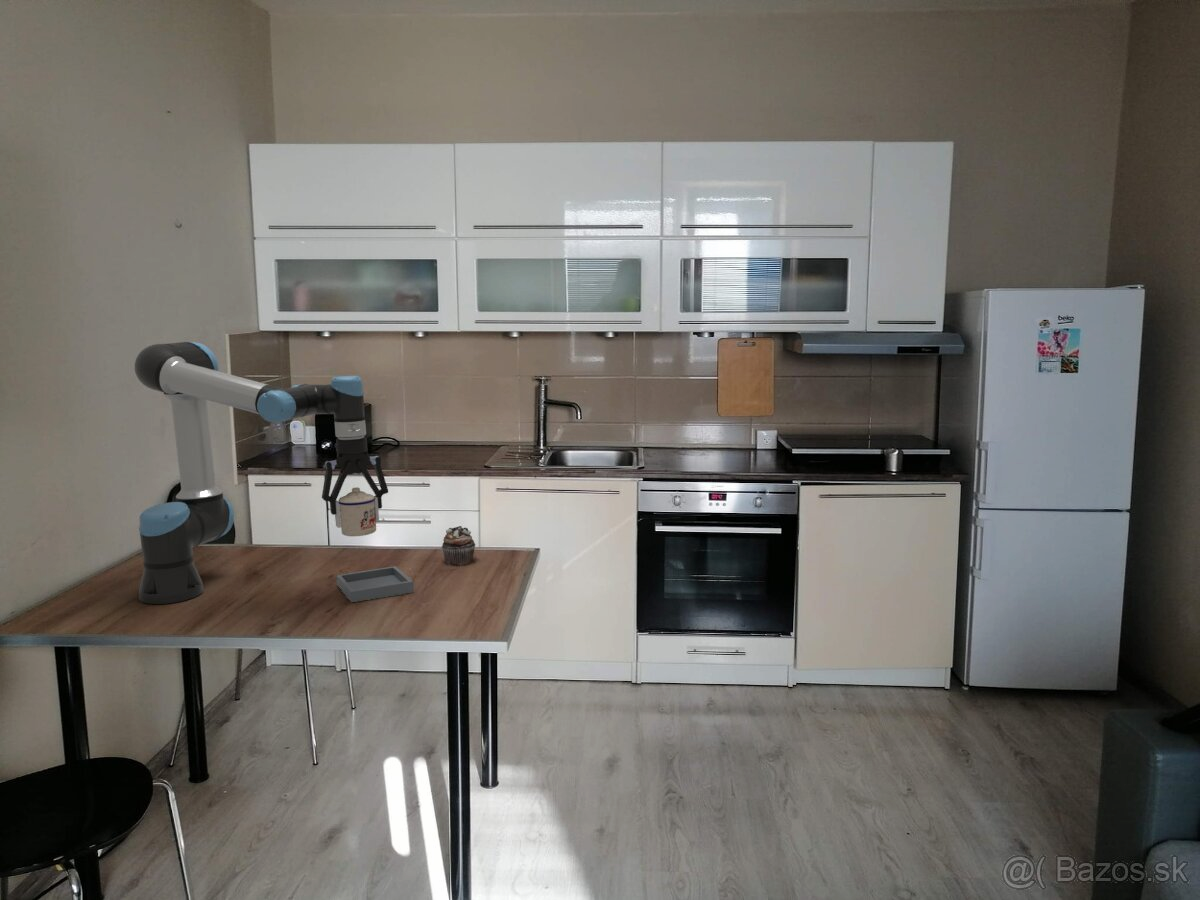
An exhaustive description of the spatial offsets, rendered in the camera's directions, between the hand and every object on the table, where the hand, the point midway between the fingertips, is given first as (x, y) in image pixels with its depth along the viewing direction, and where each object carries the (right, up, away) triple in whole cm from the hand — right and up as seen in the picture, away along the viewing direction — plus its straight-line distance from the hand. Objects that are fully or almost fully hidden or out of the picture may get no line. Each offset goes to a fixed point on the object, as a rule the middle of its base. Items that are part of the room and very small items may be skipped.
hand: (357, 523), depth 231 cm
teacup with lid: (+1, -2, +1) cm, 2 cm away
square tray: (+3, -18, +5) cm, 19 cm away
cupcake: (+22, -14, +29) cm, 39 cm away
